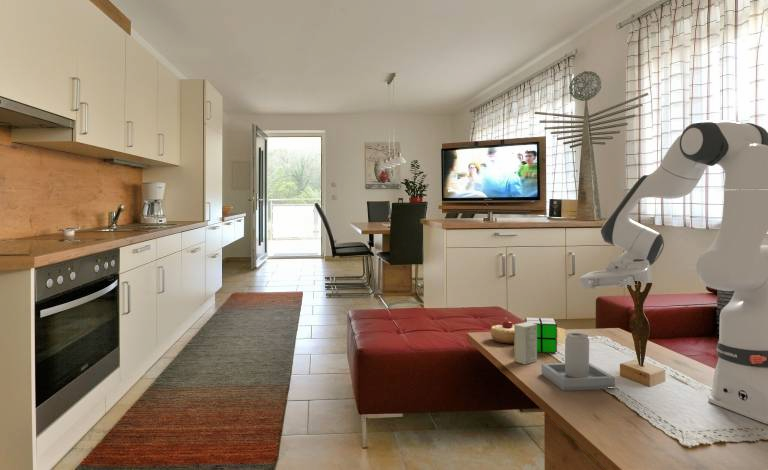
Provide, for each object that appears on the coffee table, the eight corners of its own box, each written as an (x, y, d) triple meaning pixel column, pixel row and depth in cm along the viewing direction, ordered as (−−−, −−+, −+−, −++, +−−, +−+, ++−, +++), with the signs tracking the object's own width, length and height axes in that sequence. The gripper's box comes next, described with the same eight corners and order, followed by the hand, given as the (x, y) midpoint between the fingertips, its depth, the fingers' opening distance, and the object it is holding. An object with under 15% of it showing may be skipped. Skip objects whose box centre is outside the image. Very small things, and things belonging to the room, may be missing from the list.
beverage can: (585, 373, 146) (585, 332, 146) (591, 380, 140) (592, 337, 140) (562, 372, 147) (562, 331, 147) (568, 379, 141) (568, 337, 140)
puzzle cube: (553, 346, 181) (554, 318, 180) (556, 353, 171) (557, 324, 171) (524, 344, 183) (525, 317, 183) (526, 352, 173) (526, 323, 173)
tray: (614, 388, 136) (615, 377, 136) (564, 390, 135) (564, 379, 135) (587, 371, 151) (587, 362, 151) (541, 374, 149) (541, 363, 149)
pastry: (497, 346, 181) (497, 321, 181) (485, 338, 193) (485, 315, 192) (529, 344, 183) (529, 320, 183) (515, 336, 195) (515, 313, 194)
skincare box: (526, 358, 166) (526, 321, 165) (537, 361, 162) (537, 324, 161) (513, 361, 162) (513, 324, 162) (524, 364, 158) (524, 326, 158)
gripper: (587, 266, 165) (569, 278, 156) (653, 258, 151) (638, 272, 141) (592, 284, 166) (574, 298, 156) (658, 278, 151) (644, 293, 141)
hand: (605, 285), depth 148 cm, fingers open, 8 cm apart
